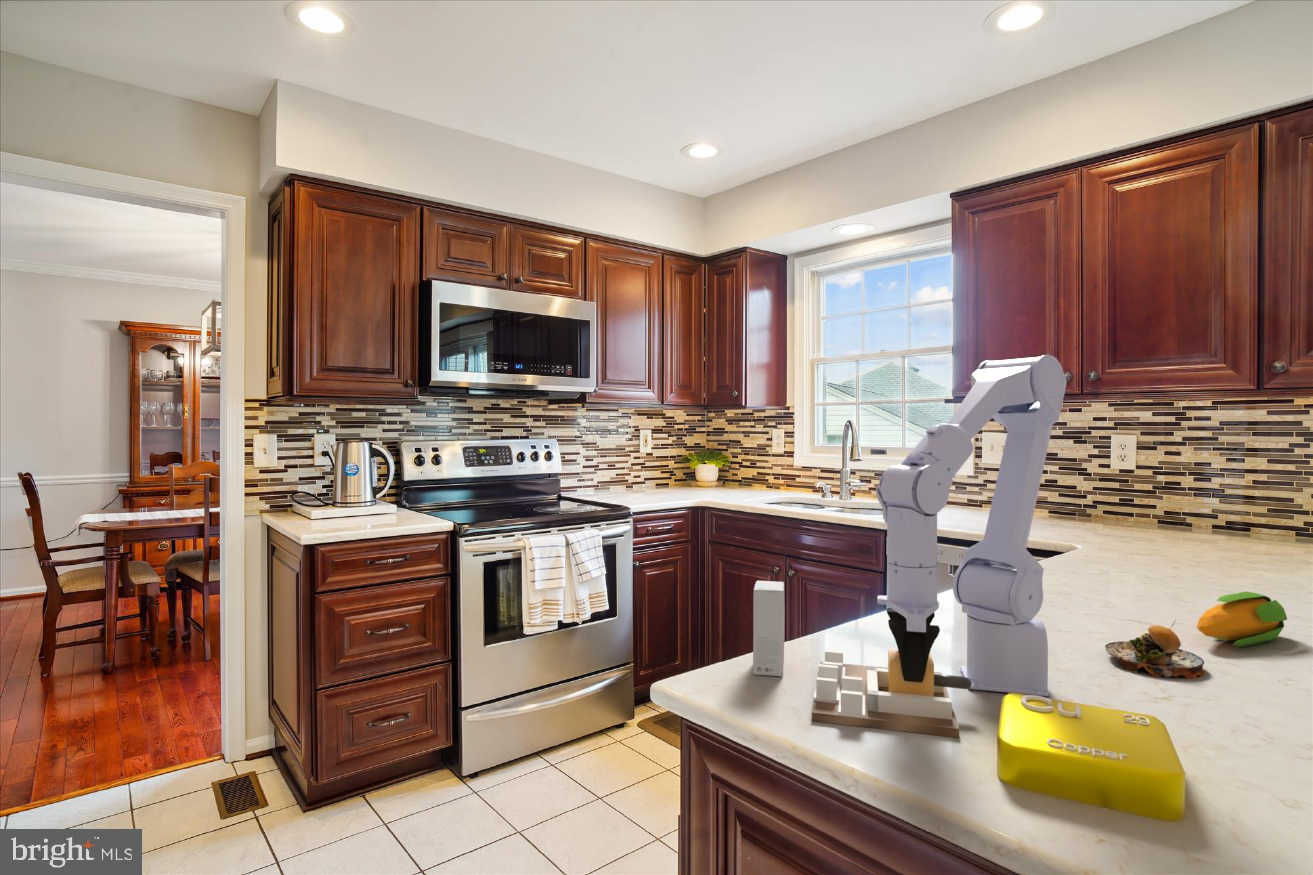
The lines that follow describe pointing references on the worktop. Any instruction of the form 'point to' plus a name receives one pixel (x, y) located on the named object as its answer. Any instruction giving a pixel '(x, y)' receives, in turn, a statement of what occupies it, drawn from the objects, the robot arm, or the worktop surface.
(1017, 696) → the element tile
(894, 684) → the block
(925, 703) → the frame
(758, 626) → the skincare box
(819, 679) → the clip
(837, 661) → the clip
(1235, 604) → the corn
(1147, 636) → the burger
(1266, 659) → the worktop surface
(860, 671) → the board
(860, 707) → the clip
